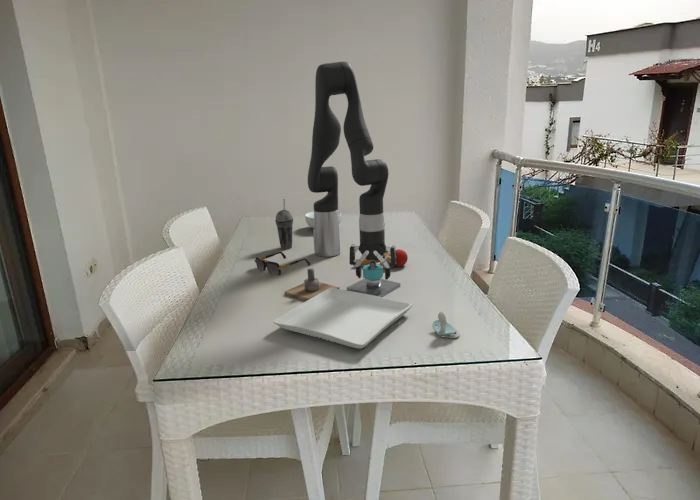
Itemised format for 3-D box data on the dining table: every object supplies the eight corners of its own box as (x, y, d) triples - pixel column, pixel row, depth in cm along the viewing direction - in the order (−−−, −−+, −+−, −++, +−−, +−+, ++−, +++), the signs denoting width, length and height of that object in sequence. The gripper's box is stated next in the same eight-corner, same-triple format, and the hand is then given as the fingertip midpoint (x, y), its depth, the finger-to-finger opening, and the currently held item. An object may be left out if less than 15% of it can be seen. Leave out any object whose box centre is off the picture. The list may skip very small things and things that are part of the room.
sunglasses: (310, 266, 176) (309, 252, 175) (277, 278, 166) (276, 264, 164) (285, 259, 185) (284, 246, 184) (253, 269, 175) (251, 256, 173)
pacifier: (451, 327, 125) (429, 329, 124) (453, 304, 123) (430, 306, 122) (464, 340, 118) (440, 342, 117) (465, 316, 116) (442, 318, 115)
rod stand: (284, 294, 150) (282, 271, 148) (311, 282, 159) (309, 260, 157) (313, 303, 143) (311, 279, 141) (339, 290, 152) (338, 267, 149)
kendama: (357, 274, 169) (409, 266, 167) (354, 256, 168) (406, 248, 166) (358, 271, 176) (408, 263, 174) (355, 254, 176) (405, 246, 174)
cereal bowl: (341, 232, 217) (340, 217, 215) (304, 234, 218) (303, 218, 216) (342, 223, 234) (341, 209, 231) (307, 224, 234) (306, 210, 232)
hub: (346, 290, 151) (345, 263, 148) (369, 279, 160) (368, 252, 157) (378, 298, 144) (377, 270, 141) (400, 286, 153) (400, 258, 150)
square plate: (363, 359, 112) (363, 344, 110) (272, 334, 126) (270, 320, 124) (413, 314, 133) (413, 301, 132) (331, 297, 147) (330, 285, 146)
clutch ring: (361, 279, 149) (361, 270, 148) (365, 272, 154) (365, 263, 153) (380, 280, 147) (380, 270, 146) (383, 273, 153) (383, 264, 152)
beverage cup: (274, 249, 197) (269, 200, 191) (283, 244, 203) (279, 197, 197) (290, 251, 194) (286, 201, 188) (298, 245, 200) (295, 197, 194)
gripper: (345, 230, 144) (348, 281, 149) (393, 231, 141) (394, 283, 146) (351, 223, 151) (353, 273, 156) (397, 224, 148) (397, 275, 153)
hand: (373, 278), depth 151 cm, fingers open, 8 cm apart
